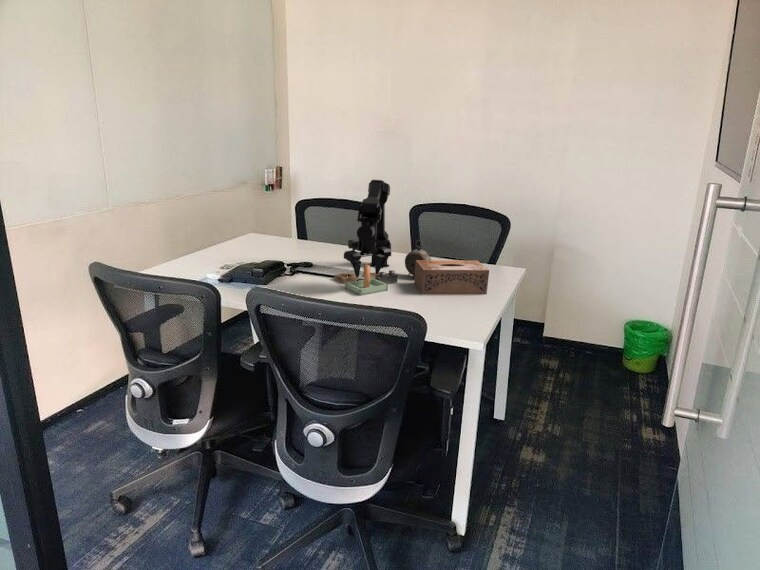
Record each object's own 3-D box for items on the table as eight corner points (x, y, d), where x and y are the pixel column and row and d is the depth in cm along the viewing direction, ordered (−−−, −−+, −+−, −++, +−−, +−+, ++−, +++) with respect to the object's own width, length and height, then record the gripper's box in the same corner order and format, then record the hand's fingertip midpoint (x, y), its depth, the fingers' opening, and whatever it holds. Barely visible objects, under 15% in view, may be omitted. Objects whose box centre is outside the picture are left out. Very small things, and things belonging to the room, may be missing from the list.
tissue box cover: (422, 295, 217) (423, 269, 214) (414, 284, 231) (415, 260, 228) (486, 295, 221) (489, 270, 218) (475, 284, 235) (477, 260, 232)
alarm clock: (430, 279, 237) (433, 241, 233) (424, 281, 233) (427, 243, 228) (408, 274, 243) (411, 237, 238) (401, 276, 239) (404, 238, 234)
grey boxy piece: (392, 280, 232) (393, 269, 231) (397, 282, 230) (397, 271, 229) (375, 283, 227) (375, 272, 226) (379, 285, 225) (380, 274, 223)
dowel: (367, 286, 221) (367, 264, 218) (370, 288, 219) (371, 265, 216) (362, 287, 219) (362, 265, 217) (365, 289, 218) (365, 266, 215)
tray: (372, 283, 227) (372, 278, 226) (387, 290, 219) (388, 284, 219) (345, 288, 219) (345, 282, 219) (360, 295, 212) (360, 289, 211)
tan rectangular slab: (382, 277, 238) (383, 271, 237) (392, 281, 232) (392, 276, 232) (362, 280, 233) (362, 274, 232) (371, 284, 227) (371, 278, 226)
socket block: (348, 277, 235) (348, 272, 234) (358, 281, 229) (358, 276, 229) (334, 279, 230) (334, 274, 230) (343, 283, 225) (344, 278, 225)
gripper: (375, 229, 225) (374, 267, 229) (336, 233, 214) (335, 273, 218) (393, 235, 216) (391, 274, 221) (352, 239, 205) (351, 280, 210)
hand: (367, 275), depth 218 cm, fingers open, 9 cm apart
